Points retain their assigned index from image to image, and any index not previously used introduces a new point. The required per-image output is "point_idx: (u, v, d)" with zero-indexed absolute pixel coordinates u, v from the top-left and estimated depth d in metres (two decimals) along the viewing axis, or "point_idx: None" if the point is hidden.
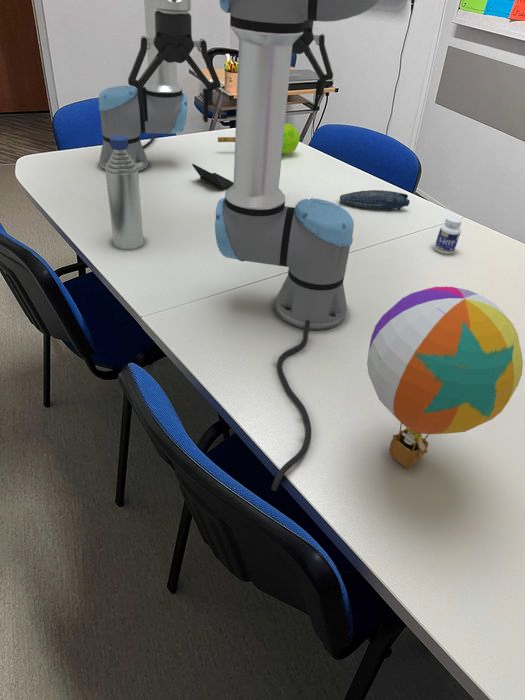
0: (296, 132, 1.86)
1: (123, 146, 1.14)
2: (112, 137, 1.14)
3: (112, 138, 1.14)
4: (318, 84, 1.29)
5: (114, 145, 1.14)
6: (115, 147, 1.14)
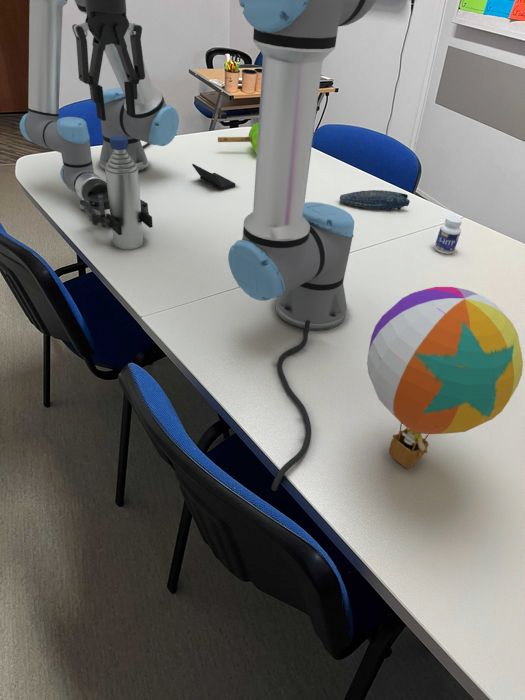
0: None
1: (123, 146, 1.14)
2: (112, 137, 1.14)
3: (112, 138, 1.14)
4: None
5: (114, 145, 1.14)
6: (115, 147, 1.14)
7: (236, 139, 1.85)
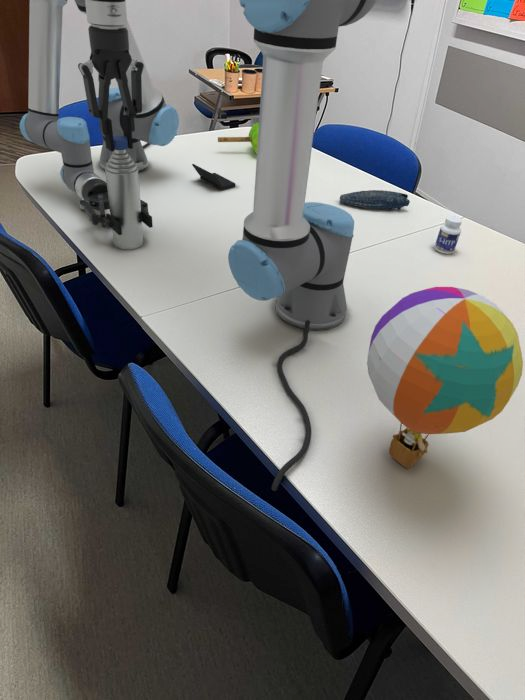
0: None
1: (123, 146, 1.14)
2: None
3: None
4: None
5: (114, 145, 1.14)
6: (115, 147, 1.14)
7: (236, 139, 1.85)
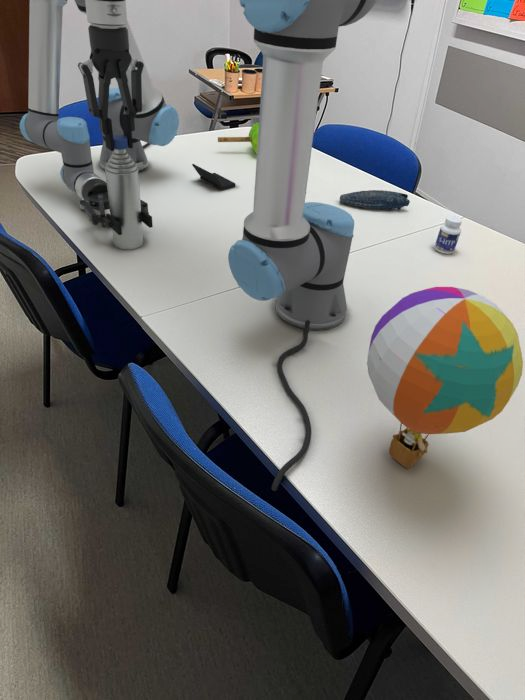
0: None
1: None
2: (119, 139, 1.14)
3: (122, 139, 1.14)
4: None
5: (127, 143, 1.15)
6: (127, 146, 1.16)
7: (236, 139, 1.85)
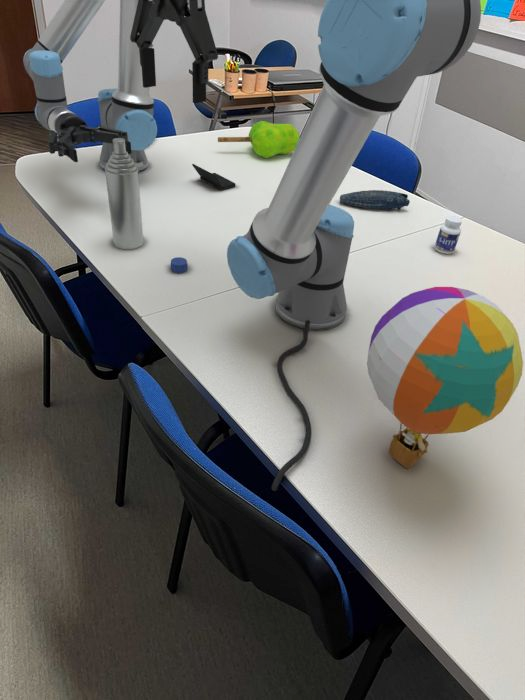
0: (296, 132, 1.86)
1: None
2: (175, 263, 1.20)
3: (178, 264, 1.20)
4: (194, 66, 0.91)
5: (182, 269, 1.21)
6: (183, 270, 1.21)
7: (236, 139, 1.85)
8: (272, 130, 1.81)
